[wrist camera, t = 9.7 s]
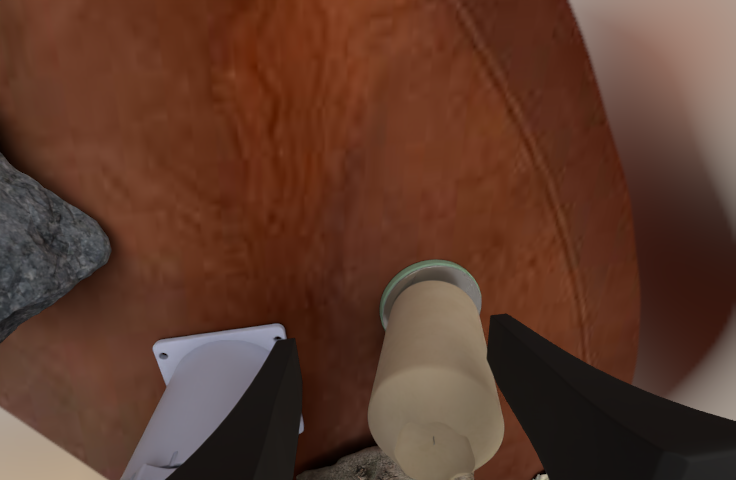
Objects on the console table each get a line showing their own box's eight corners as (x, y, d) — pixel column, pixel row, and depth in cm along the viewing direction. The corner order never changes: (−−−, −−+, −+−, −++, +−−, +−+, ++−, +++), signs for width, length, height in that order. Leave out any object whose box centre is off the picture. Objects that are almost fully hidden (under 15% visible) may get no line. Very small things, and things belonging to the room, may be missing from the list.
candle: (407, 266, 22) (386, 372, 13) (494, 297, 22) (539, 430, 12) (379, 338, 24) (343, 477, 15) (459, 368, 24) (475, 529, 14)
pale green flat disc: (476, 338, 26) (480, 346, 25) (382, 353, 26) (384, 360, 25) (480, 252, 24) (485, 258, 23) (375, 266, 23) (377, 272, 22)
